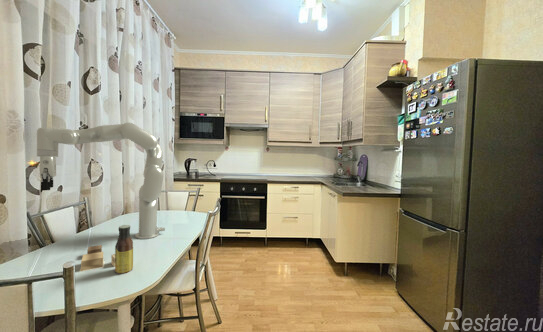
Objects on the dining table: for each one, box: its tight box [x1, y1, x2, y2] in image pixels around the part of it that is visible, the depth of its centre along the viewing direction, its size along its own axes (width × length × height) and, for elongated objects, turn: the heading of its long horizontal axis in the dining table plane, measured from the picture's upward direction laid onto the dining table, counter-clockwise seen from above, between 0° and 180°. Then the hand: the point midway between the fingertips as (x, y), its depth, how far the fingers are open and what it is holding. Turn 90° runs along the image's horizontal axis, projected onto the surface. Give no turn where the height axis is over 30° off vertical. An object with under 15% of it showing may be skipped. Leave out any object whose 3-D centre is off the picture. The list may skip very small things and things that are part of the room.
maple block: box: [110, 253, 115, 268], centre depth 101 cm, size 4×4×4 cm
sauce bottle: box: [114, 224, 134, 275], centre depth 95 cm, size 6×6×20 cm
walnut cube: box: [86, 244, 103, 254], centre depth 107 cm, size 5×5×5 cm
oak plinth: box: [80, 251, 104, 272], centre depth 98 cm, size 7×7×4 cm
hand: (47, 188), depth 112 cm, fingers open, 9 cm apart
